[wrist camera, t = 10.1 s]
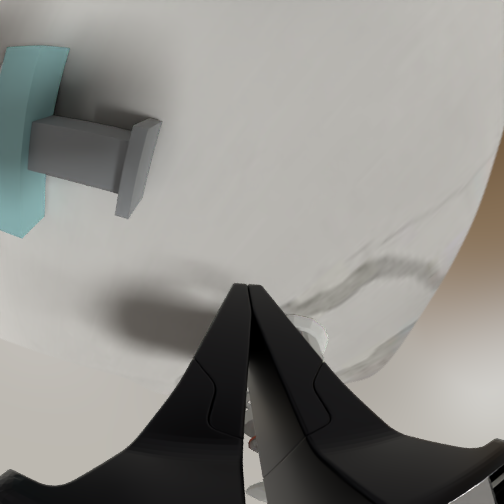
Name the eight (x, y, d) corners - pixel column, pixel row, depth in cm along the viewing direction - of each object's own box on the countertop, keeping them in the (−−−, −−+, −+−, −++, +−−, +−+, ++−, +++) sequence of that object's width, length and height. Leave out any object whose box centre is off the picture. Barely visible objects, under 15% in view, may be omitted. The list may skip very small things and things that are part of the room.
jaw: (182, 64, 13) (170, 59, 10) (133, 243, 18) (120, 271, 16) (33, 47, 10) (4, 47, 7) (14, 206, 16) (-9, 226, 13)
